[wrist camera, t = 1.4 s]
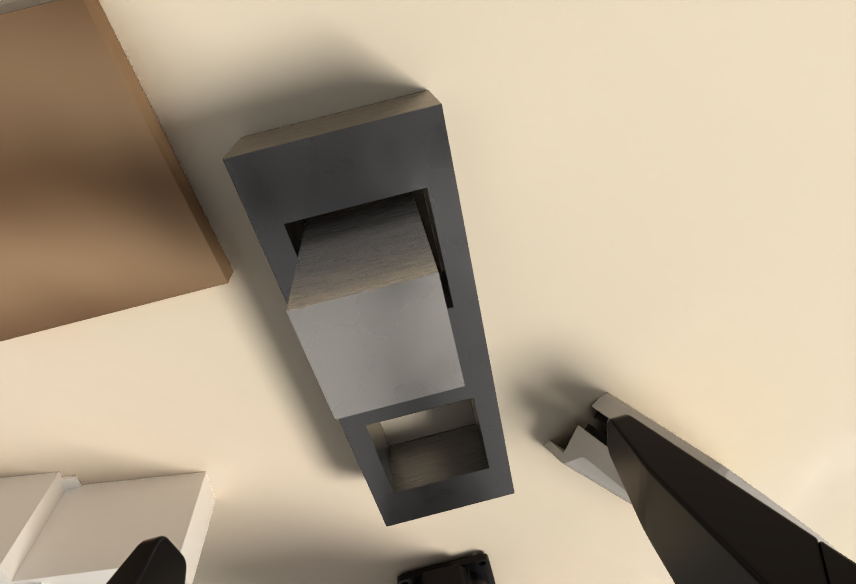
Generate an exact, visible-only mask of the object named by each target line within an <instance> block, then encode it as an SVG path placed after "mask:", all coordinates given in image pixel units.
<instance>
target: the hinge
mask: <svg viewBox="0 0 856 584" xmlns="http://www.w3.org/2000/svg"><path fill="white" fill-rule="evenodd" d="M592 407H593V408H594V409H596V410H597V412H596V414H595V415H594V418H596V419H597V420H599V421H600V422H601V423H603V424H604V425H606V426H607V421H608V419H609V418H611V417H615V416H619V415H623V414H628V415H631V416H633V417H634V418H636V419H637V420H639V421H640V422H642V423H643V424H645V425H646V426H648V427H649V428H651V429H652V430H654V431H655V432H657V433H658V434H660V435H661V436H663V437H664V438H666V439H667V440H669V441H670V442H672V443H674V444H675V445H677V446H678V447H680V448H681V449H683V450H684V451H686V452H687V453H689V454H690V455H692V456H693V457H695V458H696V459H698V460H699V461H701V462H702V463H704V464H705V465H707V466H708V467H710V468H711V469H713V470H715V471H716V472H718V473H719V474H721V475H722V476H724V477H725V478H727V479H728V480H730V481H731V482H733V483H734V484H736V485H737V486H739V487H740V488H742V489H743V490H745V491H746V492H748V493H749V494H751V495H752V496H754V497H755V498H757V499H759V500H760V501H762V502H763V503H765V504H766V505H768V506H769V507H771V508H772V509H774V510H775V511H777V512H778V513H780V514H781V515H783V516H784V517H786V518H787V519H789V520H790V521H792V522H793V523H795V524H796V525H798V526H800V527H801V528H803V529H804V530H806V531H807V532H809V533H810V534H812V535H813V536H815V537H816V538H817V540H818V542H820V541H822V542H824V543H826V544H827V545H829V546H830V547H832V548H833V549H835V548H834V547H833V546H831V545H830V544H829V543H828V542H826V541H825V540H824V539H823V538H822V537H820V536H819V535H818V534H816V533H815V532H814V531H813V530H811V529H810V528H809V527H807V526H806V525H805V524H803V523H802V522H801V521H799V520H798V519H797V518H795V517H794V516H792V515H791V514H790V513H788V512H787V511H786V510H784V509H783V508H782V507H780V506H779V505H778V504H776V503H775V502H773V501H772V500H771V499H769V498H768V497H767V496H765V495H764V494H762V493H761V492H760V491H758V490H757V489H755V488H754V487H753V486H751V485H750V484H748V483H747V482H746V481H744V480H743V479H741V478H740V477H739V476H737V475H736V474H735V473H733V472H732V471H730V470H729V469H727V468H726V467H724V466H723V465H721V464H720V463H718V462H717V461H715V460H714V459H712V458H711V457H709V456H708V455H706V454H704V453H703V452H701V451H700V450H698V449H697V448H695V447H693V446H692V445H690V444H689V443H687V442H686V441H684V440H682V439H681V438H679V437H678V436H676V435H674V434H673V433H671V432H670V431H668V430H667V429H665V428H663V427H662V426H660V425H659V424H657V423H656V422H654V421H652V420H651V419H649V418H648V417H646V416H644V415H643V414H641V413H640V412H638V411H637V410H635V409H633V408H632V407H630V406H629V405H627V404H626V403H624V402H622V401H621V400H619V399H618V398H616V397H615V396H613V395H611V394H610V393H606V394H604V395H602V396H601V397H600V398H599V399H598V400H597V401H596V402H595V403H594V404H593V405H592ZM544 447H545V448H546V449H548V450H549V451H550V452H551V453H552V454H553V455H554V456H555V457H556V458H557V459H558V460H559V461H560V462H562V463H563V464H565V465H567V466H568V467H570V468H572V469H573V470H575V471H577V472H579V473H580V474H582V475H584V476H585V477H587V478H589V479H590V480H592V481H594V482H595V483H597V484H599V485H600V486H602V487H604V488H605V489H607V490H609V491H610V492H612V493H614V494H615V495H617V496H619V497H620V498H622V499H624V500H625V501H627V502H629V503H630V504H632V503H631V501H630V499H629V496H628V494H627V492H626V490H625V488H624V486H623V483H622V481H621V479H620V477H619V475H618V472H617V470H616V468H615V466H614V464H613V461H612V459H611V457H610V454H609V451H608V447H607V436H606V435H605V434H603V433H602V432H600V431H599V430H597V429H596V428H595V427H593V426H592V425H590V424H588V425H587V427H586V428H585V429H583V428H582V427H580V426H577V428H576V430H575V432H574V434H573V436H572V438H571V440H570V442H569V444H568V446H567V448H566V450H564V449H563V448H561V447H559V446H558V445H556V444H554V443H553V442H551V441H548V442H547V443H546V444H545V446H544ZM835 550H836V549H835ZM836 551H837V550H836Z"/></svg>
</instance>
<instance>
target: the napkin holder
mask: <svg viewBox="0 0 856 584" xmlns="http://www.w3.org/2000/svg"><path fill="white" fill-rule="evenodd" d="M215 501H216V498H215V496H214V493H213V490H212V487H211V484H210V481H209V478H208V476H207V473H206V472H198V473H189V474H180V475H171V476H161V477H152V478H143V479H133V480H124V481H115V482H105V483H96V484H87V485H82V484H81V483H80V481H79V479H78V477H77V476H76V475H75V476H65V477H62V475H61V474H60V472H53V473H43V474H34V475H24V476H14V477H5V478H0V584H106V583H107V582H108V581H109V579H110V578H111V577H112V576H113V574H114V573H115V572H116V571H117V570H118V568H119V567H120V566H121V565H122V564H123V562H124V561H125V560H126V559H127V558H128V556H129V555H130V554H131V553H132V552H133V550H134V549H135V548H136V547H137V546H138V545H139V544H140V543H141V542H142V541H144V540H147V539H150V538H154V537H158V536H165V537H167V538H168V539H169V540H170V541H171V542H172V543H173V544H174V546H175V547H176V548H177V549H178V550H179V551H180V552H181V553H182V555H183V556H184V558H185V560H186V567H187V568H186V579H185V584H193V580H194V576H195V573H196V569H197V566H198V562H199V558H200V555H201V551H202V548H203V544H204V540H205V537H206V533H207V530H208V526H209V523H210V519H211V515H212V512H213V508H214V505H215Z"/></svg>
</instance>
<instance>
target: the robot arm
mask: <svg viewBox="0 0 856 584" xmlns="http://www.w3.org/2000/svg"><path fill="white" fill-rule="evenodd" d="M607 447H608V451H609V454H610V457H611V459H612V461H613V464H614V466H615V468H616V470H617V472H618V475H619V477H620V479H621V481H622V483H623V486H624V488H625V490H626V492H627V494H628V496H629V499H630V501H631V503H632V505H633V507H634V510H635V512H636V514H637V516H638V518H639V520H640V523H641V525H642V527H643V529H644V531H645V533H646V535H647V536H648V538H649V540H650V542H651V543H652V545H653V547H654V549H655V550H656V552H657V554H658V555H659V557H660V559H661V560H662V562H663V564H664V566H665V567H666V569H667V571H668V572H669V574H670V576H671V577H672V579H673V581H674V583H675V584H856V563H855V562H853V561H852V560H850V559H848V558H847V557H845V556H844V555H842V554H841V553H839V552H838V551H836V550H835V549H833V548H832V547H830V546H829V545H827V544H826V543H824V542H822V541H820V542H818V540H817V538H816V537H815V536H813V535H812V534H810V533H809V532H807V531H806V530H804V529H803V528H801V527H800V526H798V525H796V524H795V523H793V522H792V521H790V520H789V519H787V518H786V517H784V516H783V515H781V514H780V513H778V512H777V511H775V510H774V509H772V508H771V507H769V506H768V505H766V504H765V503H763V502H762V501H760V500H759V499H757V498H755V497H754V496H752V495H751V494H749V493H748V492H746V491H745V490H743V489H742V488H740V487H739V486H737V485H736V484H734V483H733V482H731V481H730V480H728V479H727V478H725V477H724V476H722V475H721V474H719V473H718V472H716V471H715V470H713V469H711V468H710V467H708V466H707V465H705V464H704V463H702V462H701V461H699V460H698V459H696V458H695V457H693V456H692V455H690V454H689V453H687V452H686V451H684V450H683V449H681V448H680V447H678V446H677V445H675V444H674V443H672V442H670V441H669V440H667V439H666V438H664V437H663V436H661V435H660V434H658V433H657V432H655V431H654V430H652V429H651V428H649V427H648V426H646V425H645V424H643V423H642V422H640V421H639V420H637V419H636V418H634V417H633V416H631V415H628V414H623V415H619V416H615V417H611V418H609V419H608V421H607ZM186 568H187V567H186V560H185V558H184V556H183V555H182V553H181V552H180V551H179V550H178V549H177V548H176V547H175V546H174V544H173V543H172V542H171V541H170V540H169V539H168V538H167V537H165V536H158V537H154V538H150V539H147V540H144V541H142V542H141V543H140V544H139V545H138V546H137V547H136V548H135V549H134V550H133V552H132V553H131V554H130V555H129V556H128V558H127V559H126V560H125V561H124V562H123V564H122V565H121V566H120V567H119V568H118V570H117V571H116V572H115V573H114V574H113V576H112V577H111V578H110V579H109V581H108V582H107V583H106V584H185V579H186ZM397 584H495V581H494V577H493V573H492V569H491V566H490V562H489V558H488V555H487V554H478V555H474V556H470V557H466V558H462V559H459V560H455V561H451V562H447V563H443V564H440V565H436V566H432V567H428V568H424V569H421V570H417V571H413V572H409V573H405V574H402V575H400V576H398V578H397Z"/></svg>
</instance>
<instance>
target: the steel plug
mask: <svg viewBox="0 0 856 584" xmlns="http://www.w3.org/2000/svg"><path fill="white" fill-rule="evenodd" d="M286 312H287V315H288V317H289V319H290V321H291V323H292V326H293V328H294V330H295V332H296V335H297V337H298V339H299V341H300V343H301V346H302V348H303V350H304V352H305V354H306V357H307V359H308V361H309V363H310V365H311V368H312V370H313V372H314V374H315V376H316V379H317V381H318V383H319V385H320V387H321V390H322V392H323V394H324V396H325V399H326V401H327V403H328V405H329V407H330V410H331V412H332V414H333V416H334V418H335V420H336V419H340V418H343V417H347V416H351V415H355V414H359V413H363V412H367V411H370V410H374V409H378V408H382V407H386V406H390V405H394V404H398V403H401V402H405V401H409V400H413V399H417V398H421V397H425V396H428V395H432V394H436V393H440V392H444V391H448V390H452V389H455V388H459V387H463V386H465V384H464V380H463V376H462V371H461V367H460V363H459V358H458V354H457V350H456V345H455V341H454V337H453V333H452V328H451V324H450V320H449V315H448V311H447V307H446V302H445V298H444V294H443V289H442V285H441V281H440V277H439V272H438V269H437V266H436V263H435V260H434V257H433V254H432V251H431V248H430V245H429V242H428V239H427V236H426V233H425V230H424V227H423V224H422V221H421V218H420V215H419V212H418V209H417V206H416V203H415V200H414V197H413V194H412V191H411V192H407V193H403V194H399V195H395V196H392V197H388V198H384V199H380V200H376V201H372V202H368V203H364V204H360V205H356V206H352V207H348V208H345V209H341V210H337V211H333V212H329V213H325V214H321V215H317V216H313V217H309V218H307V219H306V223H305V228H304V232H303V237H302V241H301V246H300V251H299V255H298V260H297V264H296V269H295V274H294V278H293V283H292V287H291V292H290V296H289V301H288V306H287V310H286Z"/></svg>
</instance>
